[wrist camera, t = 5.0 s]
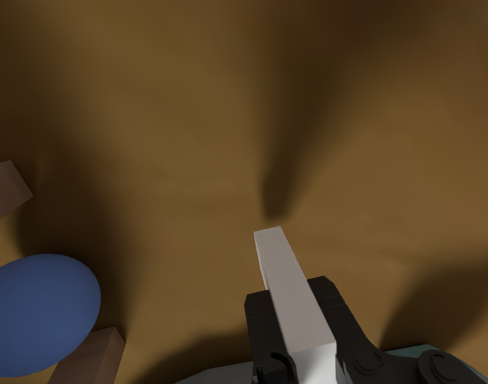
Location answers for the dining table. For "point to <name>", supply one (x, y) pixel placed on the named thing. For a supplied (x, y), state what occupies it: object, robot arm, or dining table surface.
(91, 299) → the ball
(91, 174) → the dining table surface
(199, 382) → the pie
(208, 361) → the dining table surface
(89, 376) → the bridge
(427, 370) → the robot arm
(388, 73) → the dining table surface
